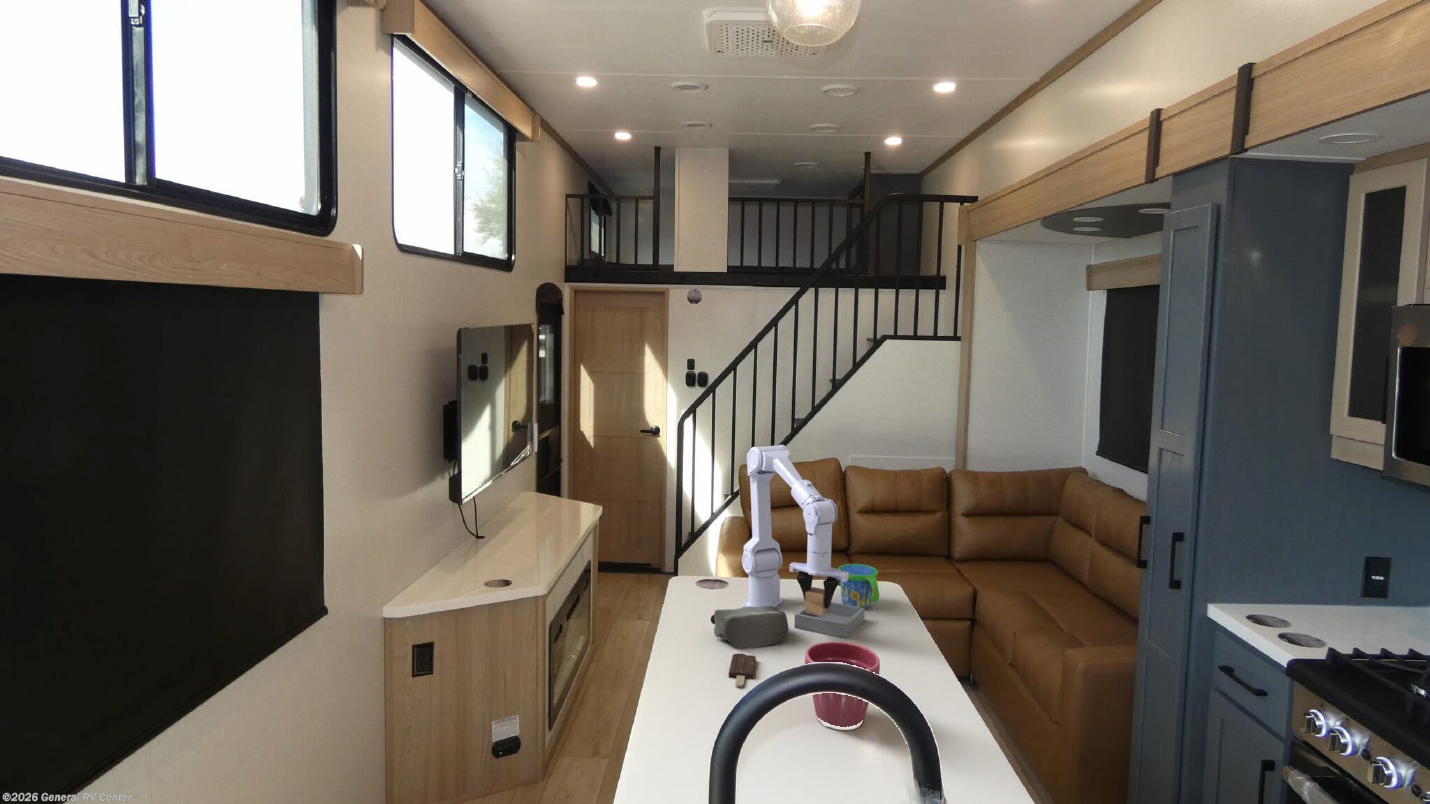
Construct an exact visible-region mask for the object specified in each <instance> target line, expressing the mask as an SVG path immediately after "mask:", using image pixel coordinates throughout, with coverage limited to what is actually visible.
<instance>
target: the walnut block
mask: <svg viewBox="0 0 1430 804" xmlns="http://www.w3.org/2000/svg"><path fill="white" fill-rule="evenodd" d="M824 600H825V591H824V588H820V587H815V586H813V587H811V589H809V590H808V591H806V592H805V601H804V607H805V612H806V613H810V614H815V615H820V616H823V615H824V614H825V613H827V612H828V611H829V608H825V607H824Z"/></svg>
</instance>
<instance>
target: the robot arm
mask: <svg viewBox="0 0 1430 804" xmlns="http://www.w3.org/2000/svg"><path fill="white" fill-rule="evenodd" d="M746 464H747V465H746V469H747V476H748V477H749V483H750V487H749V488H750V503H751V504H750V505H751V507H750V508H751V509H750V510H751V511H750V512H751V534H752V536H751V538H750V539H749V540H748V541H747V542H746V543H745V544H744V545H743V554H742V557H741V564H742V567H743V568H742V569H743V570H744V571H745V574H747V575H748V584H747V585H748V587H747V591H748V593H747V601H746V602H744V603H743V604H741V608H742V607H747V606H752V607H760V606H773V607H776V608H777V607H778V606H779V605H780V604H782V603H783V602H784V601H783V600H782V599H780V597H781V596H780V592H781V579H780V575H779V573H778V572H779V570H780V569H781V568H782V566H783V555H782V552H781V548H780V543H779V542H778V541H777V540H776V539H774V538H773V535H772V534H773V533H772V532H773V531H772V508H771V486H770V485H771V484H770V481H771V479H772V478H773V477H774V476H775V475H776V474H778V475H779V476H780V477H781V478H782V479H783V481H784V482H786V484H787V485H788V486H789V487H790V488H791V491H790V495H791V496H792V497H793V499H794V501H795V502H796V503H797V504H798V505H799V507H800V508H801V509H802V510H803V511H802V515H803V520H804V523H805V530H806V532H807V546H806V547H807V551H806V552H807V553H806V563H802V562H791V563H790V564H789V572H790V573H798V575H797V576H796V578H795V579H796V581H797V583H798V584H799V587H800V589H801V591H802V596H803V599H804V602H805V592H806V591H808V590H809V589H811V588H812V586H813V580H814V577H815V576H816V577H821V578H826V579H825V580H823V582H822V583H823V589H824V591H825V600H824V607H825V608H829V607H830V605H831V602H833V597H834V594H835V591H836V589H837V588H838V584H839V582H840V580H841V581H842V582H846V581H847V580H848V573H849V572H845V571H841V570H838V568H835V567H832V539H833V538H832V537H833V536H832V535H833V524H834V523H836V522H837V520H838V507H837V505H836V504H835V502H834V501H833V499H829V498H828V499H827V498H826V497H823V496H822V494H821V493H820V492H819V491H818V489H816V487H815V486H814V485H813V483H812V482H811V481H810V480H809V479H803V478H802V477H801V475H800V473H799V472H798V470H797V469H796V466H794V464H793V462H792V461H791V452H790V451H789V450H788V447H787V446H786V445H784V444H779V445H771V446H770V445H768V446H753V447H751V448H750V449H749V451H748V452H747V454H746Z"/></svg>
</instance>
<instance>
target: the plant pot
mask: <svg viewBox="0 0 1430 804" xmlns="http://www.w3.org/2000/svg"><path fill="white" fill-rule="evenodd" d="M804 658H805V659H804V665H805V664H808V663H812V662H843V663H847V664H850V665H856V666H858V667H862V668H864V669H868V670H869V671H871V672H875V673H876V674H879V675H880V668H881V667H880V666H881V665H880V664H881V663H880V658H879V656H878V655H877V653H875V652H874V651H873V650H872V649H869V648H867V647H865V646H863V645H860V644H856V643H852V642H845V641H825V642H818V643H815V644H813V645H811V646H809V647H808V648H807V650H806V651H805V657H804ZM811 695H812V694H811ZM812 700H813V706H814V710H815V711H814V712H815V716H816V715H817V717H818V718H820V719H821V720H823V721H824V722H827V723H829V724H831V725H835V726H840V727H847V726H848V727H849V726H853V725H857V724H858V723H860V722H861V721H862V720H864V721H865V718H866V715H867V711H868V707H869V705H870V704H869V703H870V702H869V703H868V702H865V701H863V700H862V699H858V698H857V697H852V696H848V695H841V694H836V693H822V694H815V695H812Z"/></svg>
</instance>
